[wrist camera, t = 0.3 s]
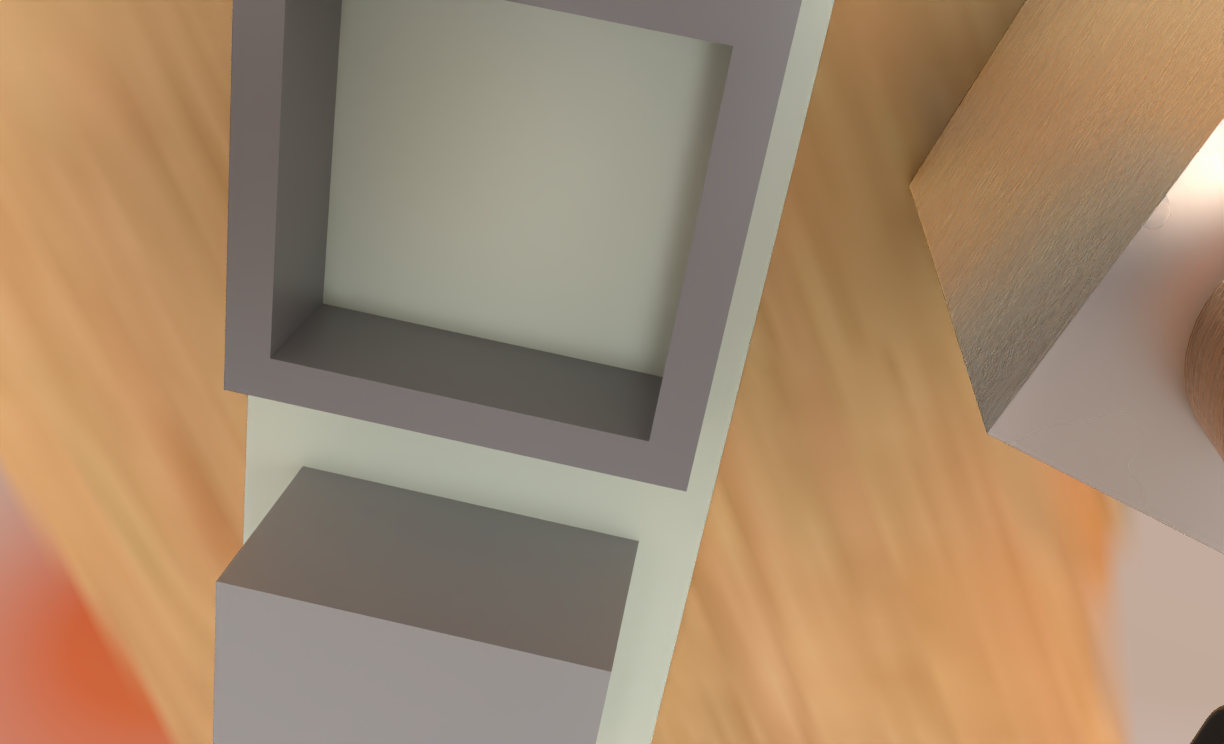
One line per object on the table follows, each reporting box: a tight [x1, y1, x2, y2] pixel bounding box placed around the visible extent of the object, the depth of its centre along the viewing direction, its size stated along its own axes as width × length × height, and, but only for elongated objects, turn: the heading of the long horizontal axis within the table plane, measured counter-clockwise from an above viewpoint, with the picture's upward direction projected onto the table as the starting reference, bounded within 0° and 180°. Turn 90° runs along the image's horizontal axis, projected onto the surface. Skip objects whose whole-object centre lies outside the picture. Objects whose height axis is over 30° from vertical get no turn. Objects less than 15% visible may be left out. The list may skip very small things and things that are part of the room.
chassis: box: [213, 0, 835, 744], centre depth 21 cm, size 17×9×6 cm, turn 170°
